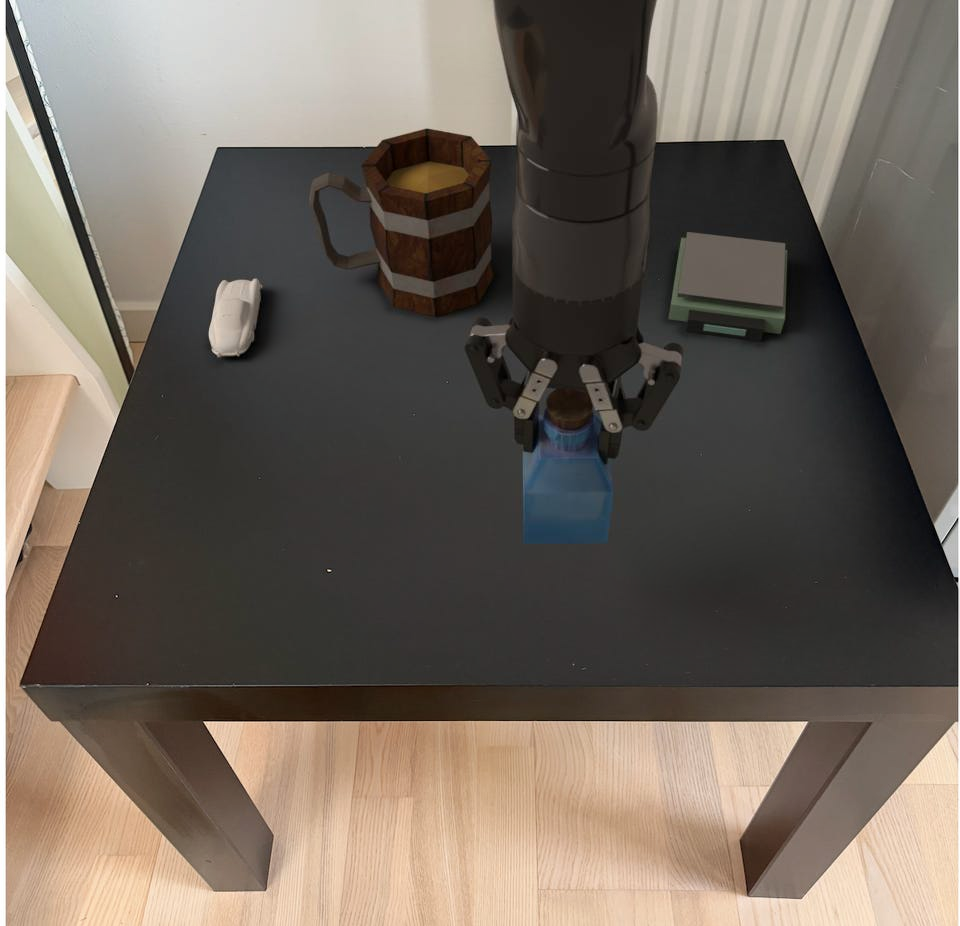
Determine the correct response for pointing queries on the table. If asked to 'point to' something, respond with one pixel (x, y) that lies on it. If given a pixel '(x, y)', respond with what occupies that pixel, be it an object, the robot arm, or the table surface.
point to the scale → (725, 313)
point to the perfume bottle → (566, 475)
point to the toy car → (234, 317)
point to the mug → (422, 220)
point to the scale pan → (733, 271)
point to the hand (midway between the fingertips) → (567, 448)
